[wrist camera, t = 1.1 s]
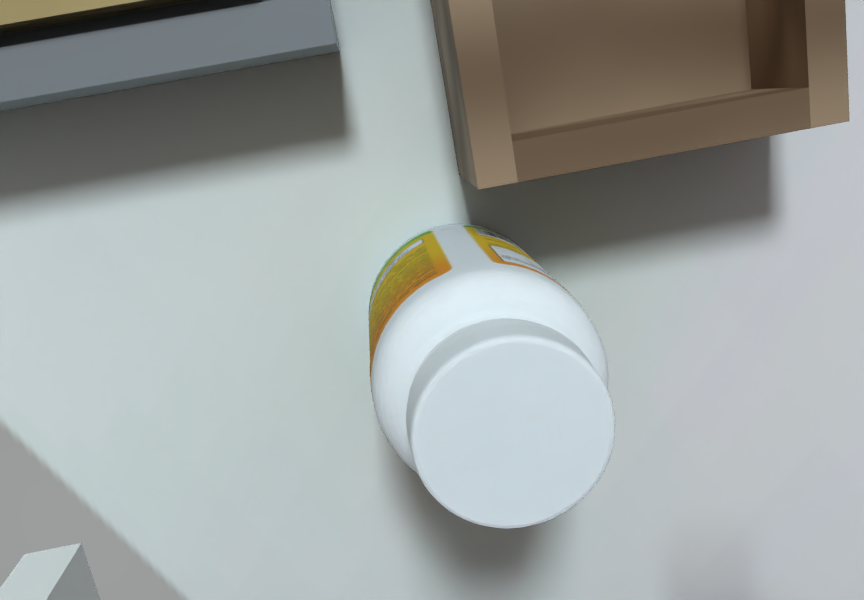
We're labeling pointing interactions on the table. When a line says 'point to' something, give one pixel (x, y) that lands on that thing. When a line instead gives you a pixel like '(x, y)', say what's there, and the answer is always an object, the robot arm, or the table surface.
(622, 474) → the table surface
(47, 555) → the robot arm
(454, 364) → the supplement bottle
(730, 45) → the trough
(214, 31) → the grey stepped block
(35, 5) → the contact pad
